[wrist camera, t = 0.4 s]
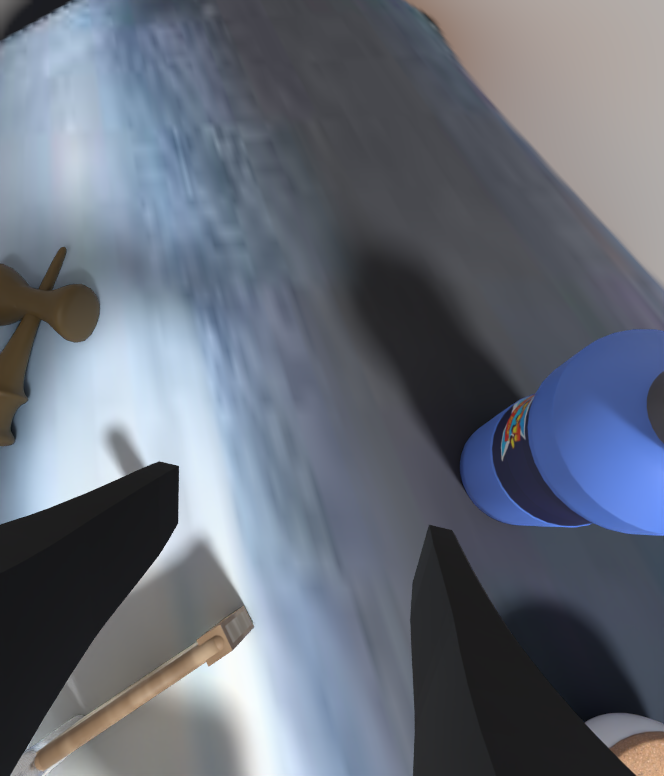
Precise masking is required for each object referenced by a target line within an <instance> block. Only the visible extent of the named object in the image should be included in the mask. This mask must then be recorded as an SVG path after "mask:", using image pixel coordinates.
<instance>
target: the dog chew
mask: <svg viewBox="0 0 664 776" xmlns="http://www.w3.org/2000/svg"><path fill="white" fill-rule="evenodd" d="M65 255H66V248H65V247H61V248H60V249H59V251H58V252H57V254H56V256H55V257H54V259H53V261H52V263H51V265H50V267H49V269H48V271H47V273H46V275H45V277H44V279H43V281H42V283H41V285H40V287H39V289H35V288H31V287H30V286H29V285H28V284H27V282H26V281H25V280H24V279H23V278H22V277H21V276H20V275H19V274H18V273H17V272H16V271H15V270H14V269H13V268H11V267H8V266H6V265H4V264H0V326H3V325H9V324H12V323H15V322H17V321H19V320H21V319H22V321H21V323H20V324H19V326H18V328H17V329H16V331H15V333H14V334H13V336H12V337H11V339H10V340H9V342H8V343H7V345H6V346H5V348H4V349H3V351H2V352H1V354H0V446H9V445H12V444H14V442H15V438H14V436H13V435H12V433H11V423H12V420H13V417H14V415H15V413H16V411H17V409H18V408H19V407H20V406H21V405H22V404H24V403H26V402H27V401H28V398H27V396H26V395H25V393H24V378H25V373H26V368H27V364H28V360H29V356H30V352H31V348H32V345H33V341H34V338H35V335H36V332H37V329H38V326H39V323H40V320H43V321H45V322H47V323H48V324H49V325H50V326H51V327H52V328H53V329H54V330H55V331H56V332H57V333H58V334H60V335H61V336H62V337H63V338H64V339H66V340H68V341H72V342H81V341H85V340H86V339H87V338H88V337H89V336H90V335H91V334H92V332H93V330H94V328H95V327H96V325H97V321H98V318H99V310H100V304H99V301H98V298H97V296H96V294H95V293H94V292H93V291H92V289H90V288H88V287H86V286H84V285H82V284H72V285H67V286H64V287H61V288H58V289H55V290H52V289H53V286H54V284H55V281H56V279H57V277H58V274H59V271H60V269H61V266H62V264H63V261H64V258H65Z"/></svg>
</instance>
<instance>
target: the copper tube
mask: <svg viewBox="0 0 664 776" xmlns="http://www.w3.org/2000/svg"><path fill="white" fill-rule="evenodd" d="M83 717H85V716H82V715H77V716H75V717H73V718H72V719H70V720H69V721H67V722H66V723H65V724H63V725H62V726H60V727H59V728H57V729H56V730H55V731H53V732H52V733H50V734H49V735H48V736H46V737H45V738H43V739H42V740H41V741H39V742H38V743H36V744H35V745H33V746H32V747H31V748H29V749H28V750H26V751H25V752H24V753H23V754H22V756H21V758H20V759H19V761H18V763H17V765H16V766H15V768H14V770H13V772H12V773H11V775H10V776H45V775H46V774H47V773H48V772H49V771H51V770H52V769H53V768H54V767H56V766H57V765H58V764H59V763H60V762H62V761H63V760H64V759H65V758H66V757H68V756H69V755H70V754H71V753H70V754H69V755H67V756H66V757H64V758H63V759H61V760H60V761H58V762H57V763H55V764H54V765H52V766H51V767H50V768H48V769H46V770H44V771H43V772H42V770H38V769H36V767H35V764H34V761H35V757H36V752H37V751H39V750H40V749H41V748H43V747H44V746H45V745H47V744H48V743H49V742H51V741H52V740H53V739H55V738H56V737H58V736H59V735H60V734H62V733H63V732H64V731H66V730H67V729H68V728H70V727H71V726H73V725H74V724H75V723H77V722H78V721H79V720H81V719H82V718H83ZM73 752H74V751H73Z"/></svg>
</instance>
